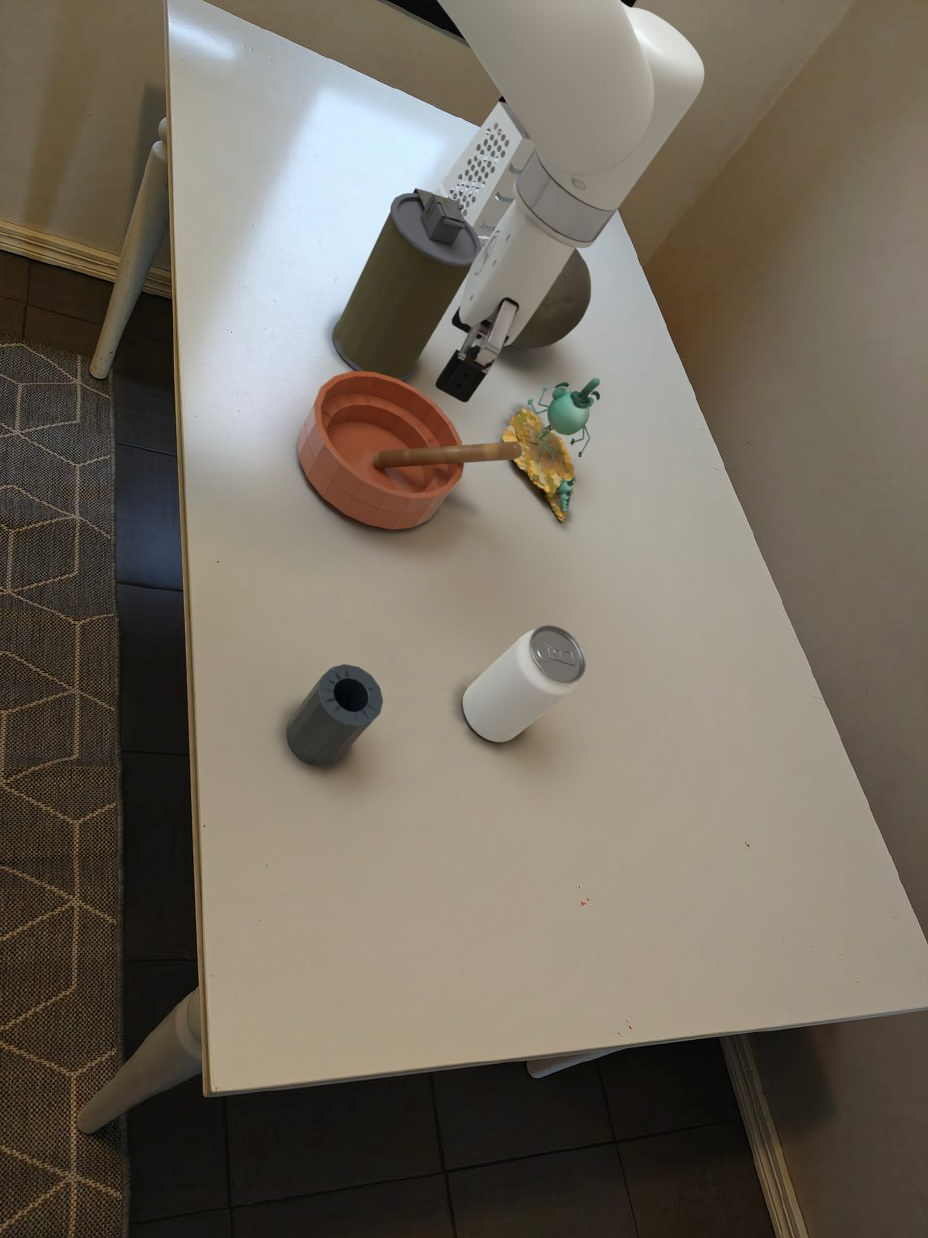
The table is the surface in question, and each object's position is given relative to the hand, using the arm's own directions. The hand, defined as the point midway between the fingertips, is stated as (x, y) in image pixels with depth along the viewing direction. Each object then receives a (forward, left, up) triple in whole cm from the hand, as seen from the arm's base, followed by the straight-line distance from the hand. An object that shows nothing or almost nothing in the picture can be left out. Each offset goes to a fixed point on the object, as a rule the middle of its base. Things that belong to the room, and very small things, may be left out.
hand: (458, 360), depth 77 cm
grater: (+3, +60, -18) cm, 63 cm away
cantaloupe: (+11, +36, -18) cm, 42 cm away
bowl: (-1, +1, -18) cm, 18 cm away
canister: (-5, +20, -18) cm, 28 cm away
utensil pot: (+1, -31, -18) cm, 36 cm away
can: (+17, -22, -18) cm, 33 cm away
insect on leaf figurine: (+18, +15, -18) cm, 30 cm away
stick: (-2, +2, -17) cm, 17 cm away
